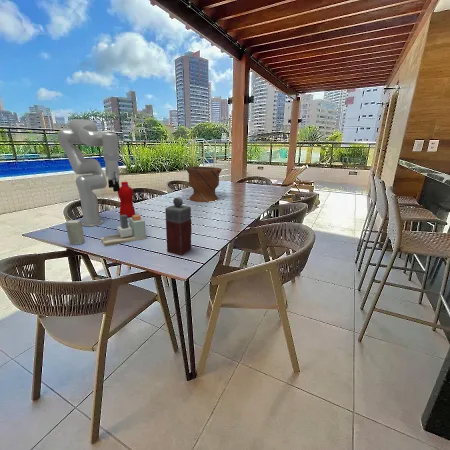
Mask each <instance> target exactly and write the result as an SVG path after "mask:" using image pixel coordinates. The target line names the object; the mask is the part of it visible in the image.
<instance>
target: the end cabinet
mask: <svg viewBox="0 0 450 450" xmlns="http://www.w3.org/2000/svg"><path fill="white" fill-rule="evenodd" d="M128 225H129V226H130V227H131V228H132V233H133V234H132V235H133V236H134V237H135V238H137V237H142V236H146V237H147V234H146V233H147V230H146V221H145V219H143V218H142V217H141V220H137V221H133V220H132V217H129V218H128Z"/></svg>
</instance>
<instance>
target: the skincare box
mask: <svg viewBox="0 0 450 450" xmlns="http://www.w3.org/2000/svg"><path fill="white" fill-rule="evenodd" d="M64 224H65V228H66V233H67V237H68V238H67V239H68V242H69V244H70V245H83V243H85V241H86V239H85V233H84V228H83V225H82V220H81V219H78V220H77V219H76V220H73V219H72V220H71V219H70V220H68V221H66V222H64Z"/></svg>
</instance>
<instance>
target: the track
mask: <svg viewBox="0 0 450 450" xmlns="http://www.w3.org/2000/svg"><path fill="white" fill-rule="evenodd" d="M99 239H100V241H101V243H102V244H103V246H104V247H109V246H115V245H120V244H124V243H130V242H134V241H138V240H139V241H140V240H143V239H147V235H146V236H142V237H137V238H135V237H134V236H133V235H132V236H128V237H123V238H121V237H120V234H119V233H116V234H111V235H105V236H103V237H100V238H99Z"/></svg>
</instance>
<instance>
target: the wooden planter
mask: <svg viewBox="0 0 450 450" xmlns="http://www.w3.org/2000/svg"><path fill="white" fill-rule="evenodd" d="M185 170H186V172H187V173H188V185H189V186H190V187H191V188H192V189H193V194H192V195H191V196H189V198H188V199H189V201H191V202H195V203H210V202H209V201H214V202H216V201H215V200H217V199H218V200H219V197H218V196H217V195H216V189H217V188H218V187H219V185H220V174H221V172H222V170H223V169H222V168H221V167H214V166H188V167H185ZM218 200H217V201H218Z"/></svg>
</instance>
